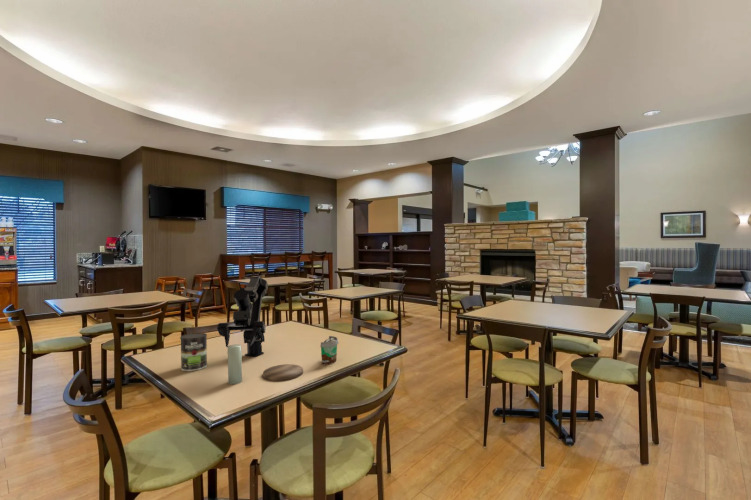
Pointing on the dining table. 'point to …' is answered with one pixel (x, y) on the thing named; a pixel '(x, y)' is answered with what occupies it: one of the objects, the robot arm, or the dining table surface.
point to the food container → (329, 350)
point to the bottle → (234, 364)
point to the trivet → (283, 372)
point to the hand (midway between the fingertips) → (238, 346)
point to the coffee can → (193, 351)
